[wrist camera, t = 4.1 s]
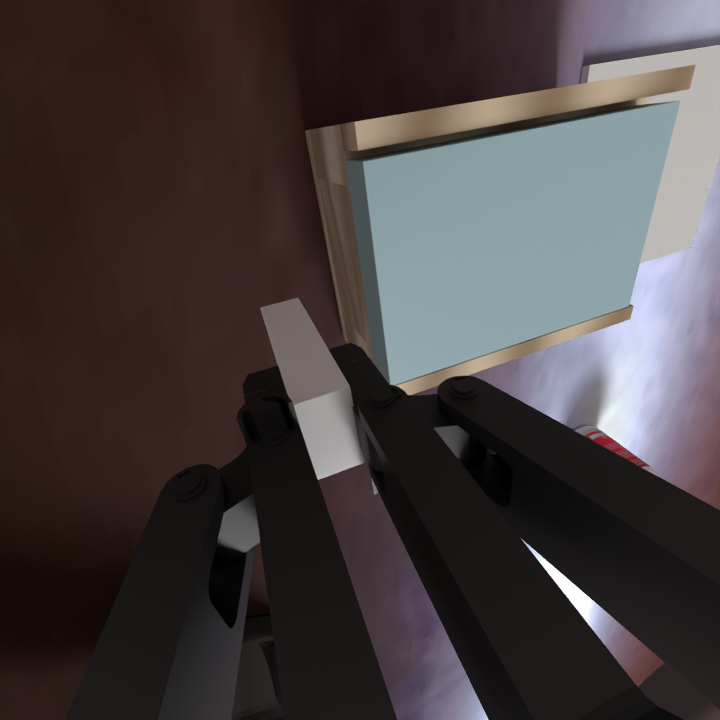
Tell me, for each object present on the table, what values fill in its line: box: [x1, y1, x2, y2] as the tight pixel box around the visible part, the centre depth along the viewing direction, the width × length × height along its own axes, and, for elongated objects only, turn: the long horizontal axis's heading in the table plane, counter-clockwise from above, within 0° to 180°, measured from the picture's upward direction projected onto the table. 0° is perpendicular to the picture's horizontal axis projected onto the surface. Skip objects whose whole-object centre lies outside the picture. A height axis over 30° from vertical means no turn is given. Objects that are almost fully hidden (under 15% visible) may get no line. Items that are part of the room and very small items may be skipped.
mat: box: [580, 45, 720, 263], centre depth 32 cm, size 16×16×1 cm
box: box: [305, 65, 696, 395], centre depth 24 cm, size 18×14×9 cm
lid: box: [345, 101, 680, 385], centre depth 21 cm, size 17×11×2 cm, turn 99°
